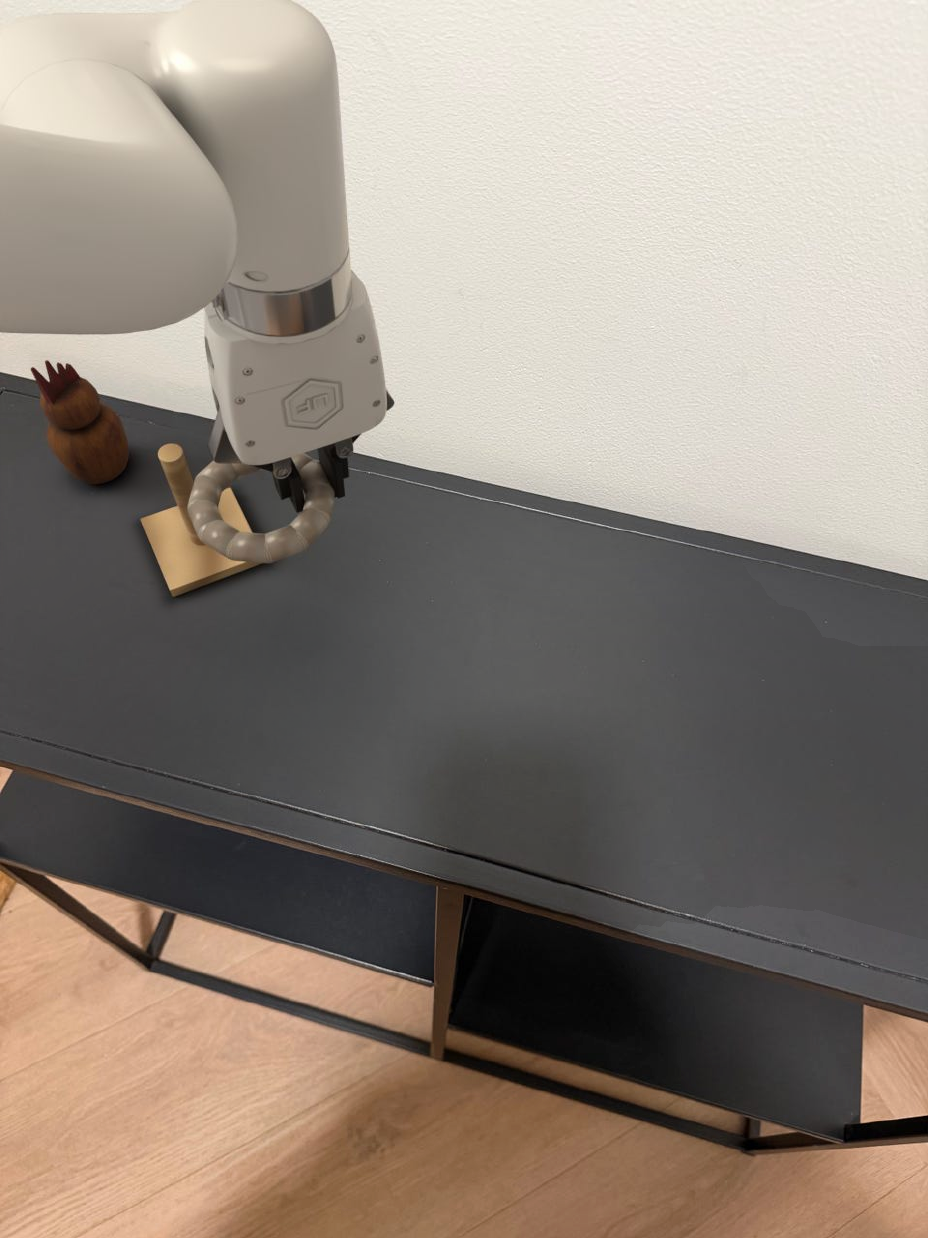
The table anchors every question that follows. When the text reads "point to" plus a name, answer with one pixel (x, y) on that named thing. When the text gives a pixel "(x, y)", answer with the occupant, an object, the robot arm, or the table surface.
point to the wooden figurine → (81, 426)
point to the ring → (257, 544)
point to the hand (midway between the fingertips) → (313, 489)
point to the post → (189, 532)
